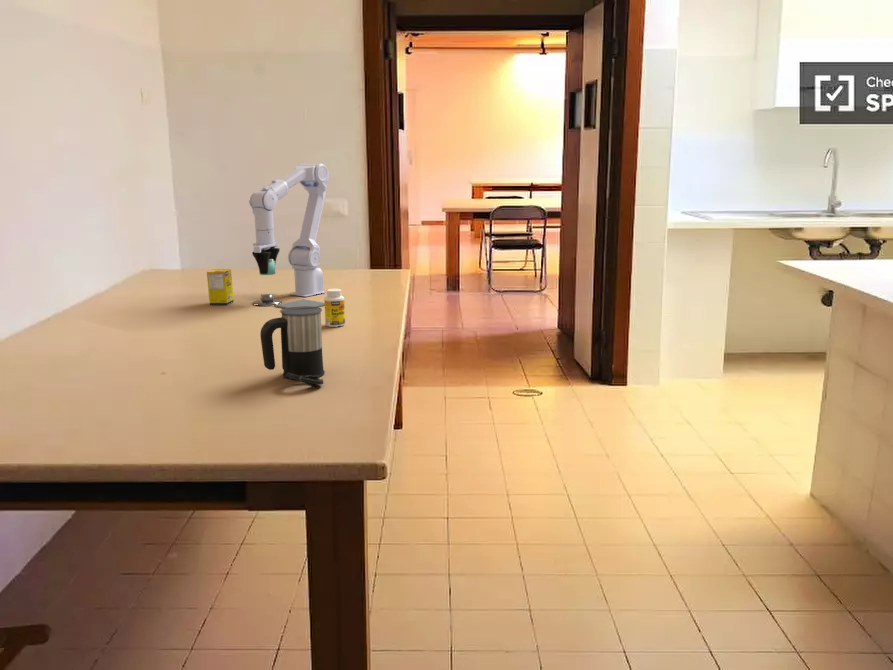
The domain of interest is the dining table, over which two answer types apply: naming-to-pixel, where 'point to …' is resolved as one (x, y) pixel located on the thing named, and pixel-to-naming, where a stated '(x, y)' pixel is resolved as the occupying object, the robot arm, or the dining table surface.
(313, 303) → the mat
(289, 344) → the milk frother
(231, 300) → the supplement box
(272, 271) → the cap
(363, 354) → the dining table surface
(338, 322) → the supplement bottle
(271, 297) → the metal flanged disc
